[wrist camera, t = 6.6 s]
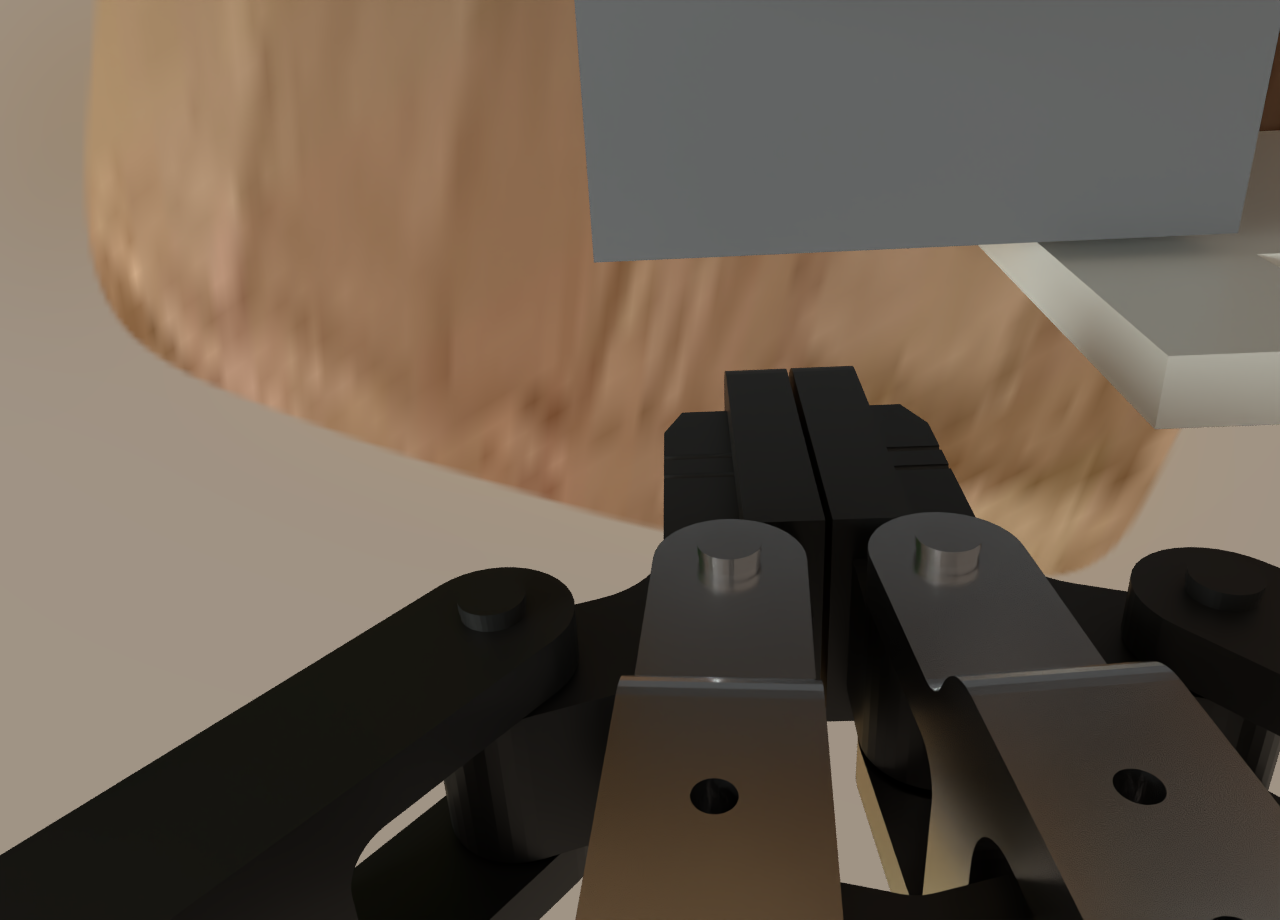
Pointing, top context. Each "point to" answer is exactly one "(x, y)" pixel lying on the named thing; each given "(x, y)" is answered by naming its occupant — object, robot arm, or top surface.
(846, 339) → the top surface
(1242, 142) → the camera housing
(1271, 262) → the side door
